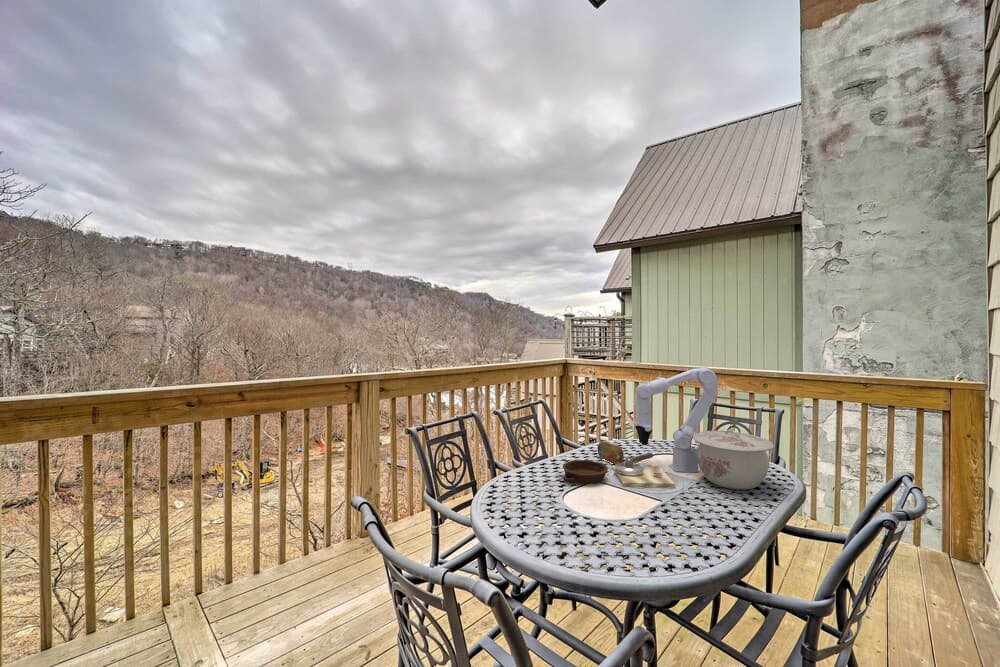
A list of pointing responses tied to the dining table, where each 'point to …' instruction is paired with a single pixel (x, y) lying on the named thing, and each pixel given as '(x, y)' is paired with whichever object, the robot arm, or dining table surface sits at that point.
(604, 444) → the tin
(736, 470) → the chamber pot
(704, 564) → the dining table surface
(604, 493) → the dining table surface
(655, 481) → the record player
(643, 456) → the metal disc with handle
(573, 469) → the dish
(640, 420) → the robot arm
